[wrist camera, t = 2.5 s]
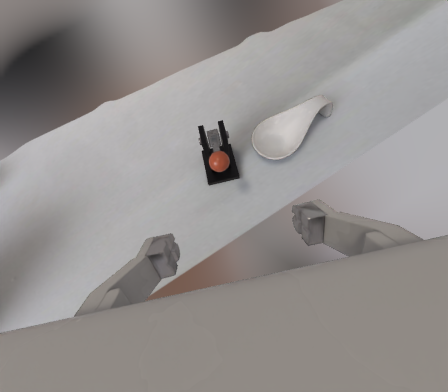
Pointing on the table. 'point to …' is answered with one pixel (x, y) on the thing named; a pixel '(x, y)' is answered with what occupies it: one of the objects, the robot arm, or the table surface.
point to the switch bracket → (212, 175)
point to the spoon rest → (288, 128)
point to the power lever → (217, 152)
